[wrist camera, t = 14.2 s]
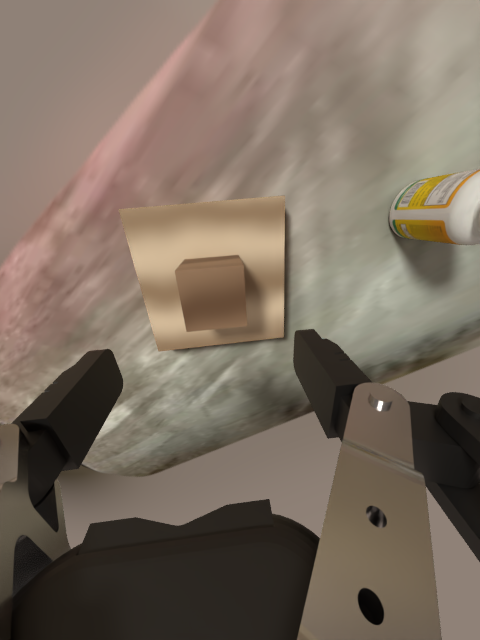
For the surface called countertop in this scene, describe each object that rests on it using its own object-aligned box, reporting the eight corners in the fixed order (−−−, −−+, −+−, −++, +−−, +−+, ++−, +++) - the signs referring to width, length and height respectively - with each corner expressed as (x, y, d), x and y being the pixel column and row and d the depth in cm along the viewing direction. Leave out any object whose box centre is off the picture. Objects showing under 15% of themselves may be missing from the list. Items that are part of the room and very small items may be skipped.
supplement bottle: (390, 184, 21) (508, 161, 13) (444, 175, 21) (598, 146, 13) (383, 242, 24) (478, 255, 15) (431, 234, 24) (554, 243, 15)
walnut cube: (184, 259, 20) (174, 270, 16) (238, 254, 20) (243, 265, 16) (193, 309, 22) (186, 332, 18) (241, 304, 23) (247, 326, 18)
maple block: (131, 210, 21) (118, 209, 18) (276, 198, 21) (284, 195, 19) (164, 337, 27) (158, 351, 24) (277, 325, 27) (283, 337, 25)
